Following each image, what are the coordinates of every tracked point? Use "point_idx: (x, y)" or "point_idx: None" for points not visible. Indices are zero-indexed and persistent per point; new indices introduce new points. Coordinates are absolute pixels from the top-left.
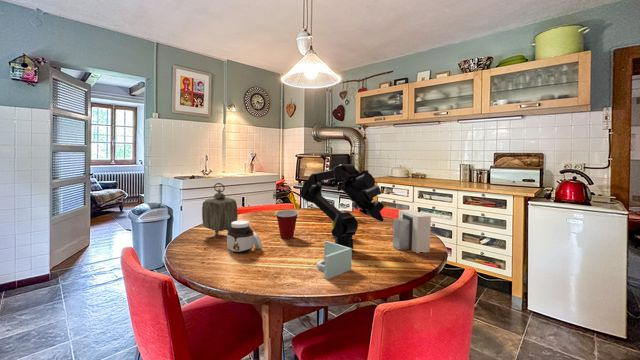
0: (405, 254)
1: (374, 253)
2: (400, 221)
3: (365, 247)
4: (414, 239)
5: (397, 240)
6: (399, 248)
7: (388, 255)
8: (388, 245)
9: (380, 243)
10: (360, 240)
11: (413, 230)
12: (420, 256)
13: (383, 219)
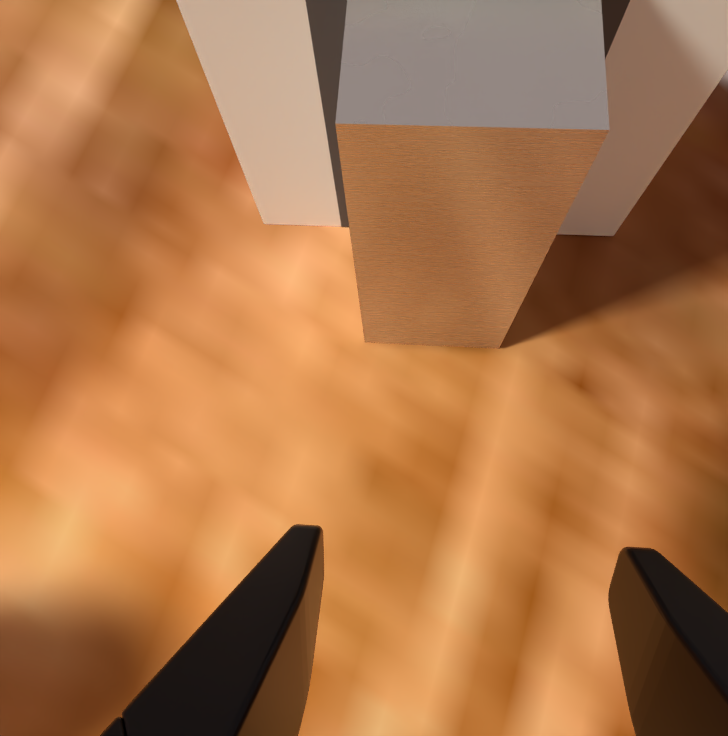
0: (627, 357)
1: (519, 686)
2: (602, 129)
3: None
4: (617, 153)
5: (468, 309)
6: (502, 339)
7: None
8: (305, 362)
9: (209, 408)
10: (3, 586)
11: (627, 68)
12: (711, 255)
13: (664, 560)
